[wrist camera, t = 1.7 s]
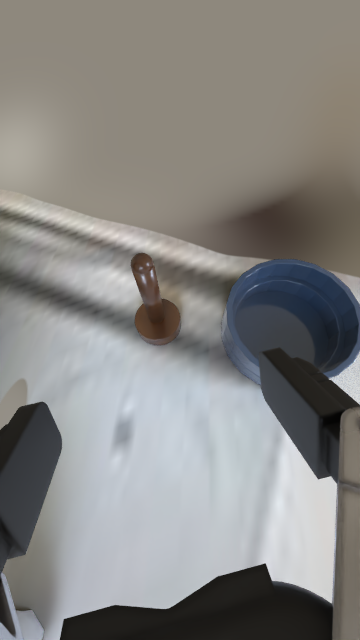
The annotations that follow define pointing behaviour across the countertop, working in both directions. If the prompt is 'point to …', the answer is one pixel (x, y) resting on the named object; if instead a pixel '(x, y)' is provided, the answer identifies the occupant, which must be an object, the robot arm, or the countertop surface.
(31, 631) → the salt shaker
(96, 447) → the countertop surface
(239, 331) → the bowl
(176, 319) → the brown stamp
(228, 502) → the countertop surface
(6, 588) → the robot arm
